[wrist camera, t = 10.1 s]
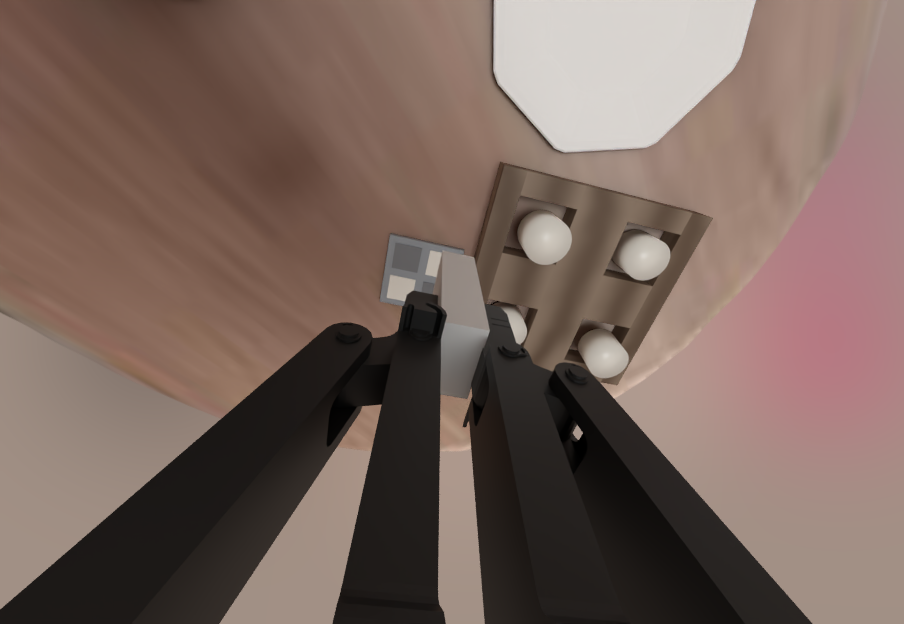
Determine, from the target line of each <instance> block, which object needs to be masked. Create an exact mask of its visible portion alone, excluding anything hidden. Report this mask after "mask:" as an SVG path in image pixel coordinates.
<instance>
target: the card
mask: <svg viewBox="0 0 904 624" xmlns="http://www.w3.org/2000/svg"><path fill="white" fill-rule="evenodd" d="M442 250H443V251H448V252H452V253H457V254H462V255H463V254H464V249H460V248H455V247H451V246H446V245H442V244H437V243H433V242H428V241H424V240H419V239H415V238H410V237H406V236H401V235H397V234H392V233H391V234H390V238H389V245H388V251H387V257H386V264H385V270H384V277H383V283H382V290H381V296H380V302H385V303H390V304H395V305H400V306H403V305H404V304H405V300H406V295H407V294H409V293H410V292H411V291H413V290H414V291H419V292H424V293H429V294H433V290H434V285H435V281H436V277H437V272H438V268H439V264H440V259H441V255H442Z"/></svg>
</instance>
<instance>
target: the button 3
mask: <svg viewBox="0 0 904 624" xmlns="http://www.w3.org/2000/svg"><path fill="white" fill-rule="evenodd" d="M578 351H579V353H580V355H581V356H582V358H583V360H584V362H585V363H586V365H587V367H588V368H589V370H590V372H591V373H592V374H593V375H594V376H596V377H599V378H610V377H613V376H616V375H618V374H619V373H621V372H622V371H623V370H624V369H625V368H626V366H627V364H628V361H629V357H628V353H627V352H626V351H625V349H624V348H623V347H622V345H621V344H620V343H619V342H618V340H617V339H616V338H615V337H614V335H613V334H612V333H611V332H610V331H608V330H606V329H594V330H591V331H589V332H587V333H586V334H584V335H583V336H582V338H581V339H580V341H579V343H578Z"/></svg>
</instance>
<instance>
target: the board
mask: <svg viewBox="0 0 904 624" xmlns="http://www.w3.org/2000/svg"><path fill="white" fill-rule="evenodd" d="M520 195H521V196H525V197H529V198H533V199H537V200H541V201H545V202H549V203H553V204H557V205H561V206H565V207H567V210H566V213H565V215H564V218H563V222H564V223H565V224H566V225H567V226H568V227H569V229H570V231H571V235H572V243H571V246H570V249H569V251H568V252H567V254H566V255H565V256H564V257H563V258H562V259H561V260H559V261H558V262H556V263H553V264H549V265H541V264H537V263H535V262H533V261H532V260H531V259H530V258H529V257H528V256H527V254H526V253H525V251H524V250H519V249H515V248H510V247H506V246H505V243H506V240H507V236H508V233H509V230H510V227H511V224H512V220H513V217H514V214H515V211H516V208H517V204H518V201H519V198H520ZM712 219H713V218H711V217H709V216H706V215H703V214H700V213H697V212H694V211H690V210H686V209H682V208H678V207H674V206H671V205H667V204H663V203H659V202H655V201H651V200H647V199H643V198H639V197H635V196H632V195H628V194H624V193H620V192H616V191H612V190H608V189H604V188H600V187H596V186H592V185H589V184H585V183H581V182H577V181H573V180H569V179H565V178H561V177H557V176H553V175H550V174H546V173H542V172H538V171H534V170H530V169H526V168H522V167H518V166H514V165H510V164H507V163H503V162H501V163H500V166H499V170H498V173H497V177H496V181H495V184H494V188H493V192H492V195H491V199H490V202H489V206H488V210H487V213H486V217H485V221H484V224H483V228H482V231H481V235H480V239H479V242H478V246H477V250H476V253H475V257H474V259H475V264H476V268H477V273H478V278H479V282H480V287H481V292H482V296H483V301H484V304H486V303H487V300H488V299H491V300H495V301H500V302H505V303H510V304H515V305H520V306H525V307H529V311H528V313H527V316H526V318H525V321H524V322H525V325H526V328H527V335H526V338H525V340H524V341H523V342H522V343H521V344H520V345H521V346H523V347H524V348H525V349H526V350H527V351H528V353H529V354H530V356H531V359H532V362H533V364H535V365H537V366H540V367H542V368H545V369H547V370H550V371H553V370H554V368H555V366H556V365H557V364H558V363H563V362H567V363H573V364H576V365H579V366H581V367H583V368H584V369H586V370H587V371H589V372H590V370H589V368H588V367H587V365H586V363H585V362H584V360H583V358H582V356H581V355H580V353H579V351H574V350H569V348H570V346H571V344H572V341H573V339H574V337H575V335H576V333H577V331H578V328H579V326H580V324H581V322H582V320H583V319H588V320H593V321H597V322H602V323H607V324H612V325H616V326H615V327H614V329H613V331H612V334H613V335H614V337H615V338H616V339H617V340H618V342H619V343H620V344H621V345H622V347H623V348H624V349H625V351H626V352H627V353H628V357H629V361H628V364H627V366H626V368H625V369H624V370H623V371H622V372H621V373H619V374H618V375H616V376H613V377H610V378H599V377H596V376H594V375H593V374H592V373H591V372H590V373H591V374H592V375H593V376H594V377H595V378H596V379H597V380H598V381H599V382H602V383H608V384H613V385H618V383H619V381H620V379H621V378H622V376H623V374H624V372H625V371H626V369H627V367H628V365H629V364H630V362H631V360H632V358H633V357H634V355H635V353H636V351H637V350H638V348H639V346H640V344H641V343H642V341H643V339H644V337H645V336H646V334H647V332H648V331H649V329H650V327H651V325H652V324H653V322H654V320H655V318H656V317H657V315H658V313H659V311H660V310H661V308H662V306H663V304H664V303H665V301H666V299H667V297H668V296H669V294H670V292H671V290H672V289H673V287H674V285H675V283H676V282H677V280H678V278H679V276H680V275H681V273H682V271H683V269H684V268H685V266H686V264H687V263H688V261H689V259H690V257H691V256H692V254H693V252H694V250H695V249H696V247H697V245H698V243H699V242H700V240H701V238H702V236H703V235H704V233H705V231H706V229H707V228H708V226H709V224H710V222H711V221H712ZM628 222H630V223H634V224H639V225H643V226H647V227H651V228H655V229H659V230H663V231H664V233H663V235H662V237H661V239H660V240H661V241H663V242H664V243H666V245H667V246H668V247H669V249H670V260H669V263H668V265H667V267H666V268H665V269H664V271H663V272H662V273H660V274H659V275H658V276H656V277H654V278H652V279H649V280H636V279H634V278H632V277H631V276H630V275H629V274H625V273H621V272H617V271H612V270H608V269H606V268H607V266H608V264H609V262H610V260H611V257H612V255H613V253H614V251H615V249H616V247H617V245H618V242H619V240H620V238H621V236H622V234H623V232H624V229H625V227H626V225H627V223H628Z"/></svg>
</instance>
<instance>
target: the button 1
mask: <svg viewBox="0 0 904 624" xmlns="http://www.w3.org/2000/svg"><path fill="white" fill-rule="evenodd" d="M492 306H497V307H501V308H502V309H503V310H504V312H505V313H506V314H507V315H508V318H509V323H510V325H511V328H512V331H513V334H514V337H515V340H516V343H518V344H521V343H522V342H523V341H524V340H525V338H526V335H527V328H526V325H525V322H524V320H523V317H522V315H521V312H520V310H519V308H518V307H517V306H516V305H515V304H510V303H505V302H497V303H495V304H493V305H492Z"/></svg>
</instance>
